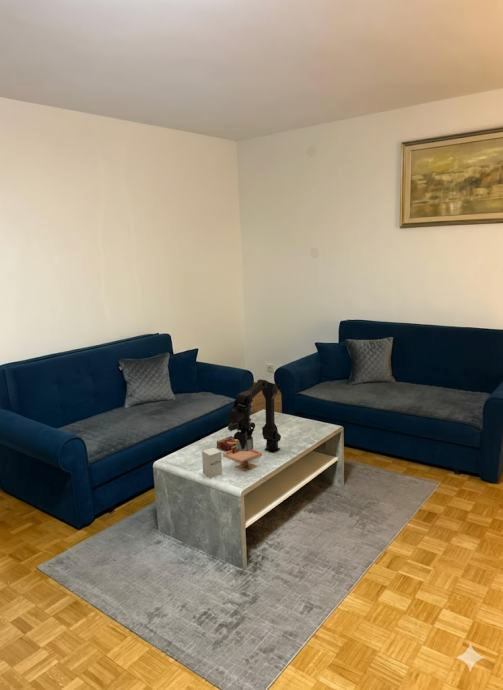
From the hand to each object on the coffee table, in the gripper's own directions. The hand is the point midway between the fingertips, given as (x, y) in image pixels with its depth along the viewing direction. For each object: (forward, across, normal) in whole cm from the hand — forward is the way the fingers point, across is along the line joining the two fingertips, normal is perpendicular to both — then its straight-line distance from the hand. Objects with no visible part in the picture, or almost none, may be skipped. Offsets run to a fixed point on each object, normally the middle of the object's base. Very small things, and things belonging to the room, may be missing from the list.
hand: (245, 446), depth 260 cm
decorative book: (+13, -22, -16) cm, 30 cm away
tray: (+12, -12, -6) cm, 18 cm away
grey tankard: (+1, 0, 0) cm, 1 cm away
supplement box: (+12, +11, -14) cm, 22 cm away
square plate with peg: (+12, 0, 0) cm, 12 cm away
